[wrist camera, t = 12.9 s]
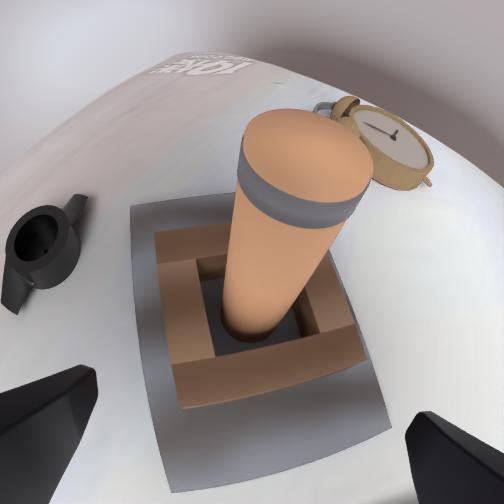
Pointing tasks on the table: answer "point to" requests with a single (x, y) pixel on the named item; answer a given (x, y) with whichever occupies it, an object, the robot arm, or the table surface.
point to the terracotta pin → (286, 213)
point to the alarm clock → (385, 143)
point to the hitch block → (241, 358)
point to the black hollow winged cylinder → (40, 251)
